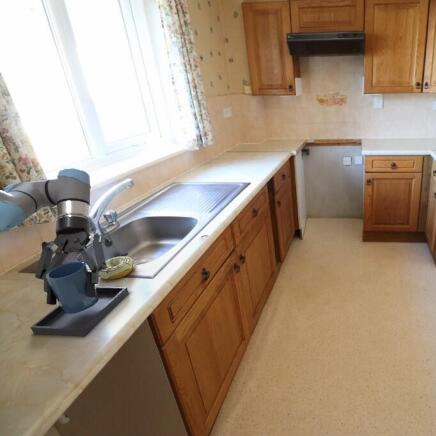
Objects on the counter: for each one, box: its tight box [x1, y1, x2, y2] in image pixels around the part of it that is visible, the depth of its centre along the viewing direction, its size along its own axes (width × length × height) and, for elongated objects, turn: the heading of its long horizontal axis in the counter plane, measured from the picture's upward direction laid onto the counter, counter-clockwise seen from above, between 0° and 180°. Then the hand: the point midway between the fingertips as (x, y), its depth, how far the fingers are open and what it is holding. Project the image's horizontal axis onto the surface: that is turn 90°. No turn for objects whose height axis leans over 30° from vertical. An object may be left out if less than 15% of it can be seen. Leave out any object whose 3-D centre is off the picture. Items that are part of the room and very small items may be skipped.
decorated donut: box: [99, 255, 134, 281], centre depth 106 cm, size 10×11×4 cm
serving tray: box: [29, 285, 130, 338], centre depth 89 cm, size 17×14×2 cm
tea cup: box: [46, 260, 99, 314], centre depth 86 cm, size 8×8×11 cm
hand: (71, 300), depth 84 cm, fingers closed on tea cup, 8 cm apart
